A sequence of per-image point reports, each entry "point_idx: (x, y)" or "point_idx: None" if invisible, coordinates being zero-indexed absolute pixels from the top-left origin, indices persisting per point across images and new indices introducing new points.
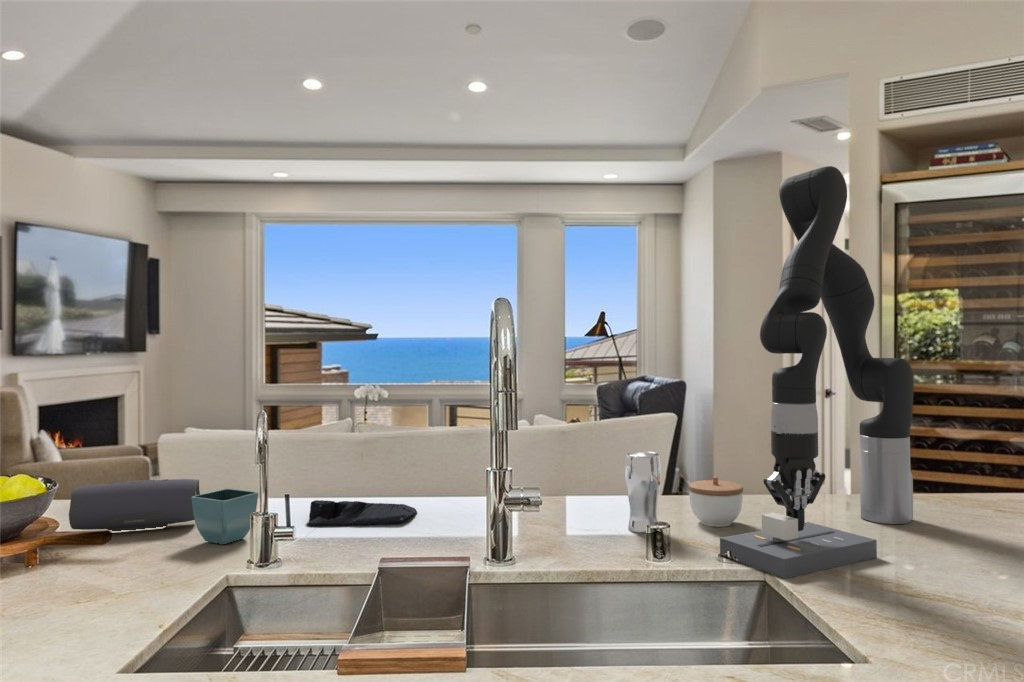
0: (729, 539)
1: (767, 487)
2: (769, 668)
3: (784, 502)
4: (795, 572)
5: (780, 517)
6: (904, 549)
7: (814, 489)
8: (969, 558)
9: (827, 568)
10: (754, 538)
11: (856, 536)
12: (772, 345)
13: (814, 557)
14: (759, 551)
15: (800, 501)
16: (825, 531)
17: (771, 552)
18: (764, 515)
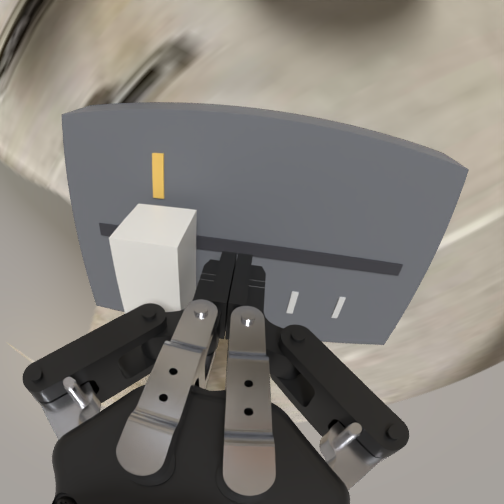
0: (71, 141)
1: (54, 356)
2: (14, 348)
3: (131, 350)
4: None
5: (144, 295)
6: (454, 314)
7: (303, 412)
8: (442, 366)
9: None
10: (138, 170)
11: (389, 316)
12: None
13: None
14: (81, 251)
15: (227, 361)
16: (392, 255)
17: (98, 271)
18: (112, 249)
